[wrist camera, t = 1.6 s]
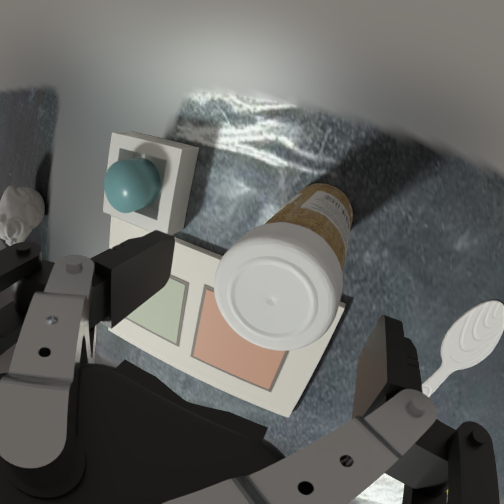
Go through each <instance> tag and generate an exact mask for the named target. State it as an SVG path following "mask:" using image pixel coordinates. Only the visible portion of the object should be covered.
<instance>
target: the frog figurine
mask: <svg viewBox="0 0 504 504" xmlns="http://www.w3.org/2000/svg"><path fill="white" fill-rule="evenodd" d="M44 212H45V204H44V200H43V198H42V196H41V195H40V193H39V192H37V191H36V190H34V189H32V188H25V187H19V188H17V189H15V188H14V187H13V186H11V185H10V186H9V187H7V188H6V190H5V192H4V194H3V196H2V198H1V202H0V238H1V239H4V240H6V243H7V244H8V245H9V246H11V245H13V244H16V243H19V242H24V240H25V239H26V238H27V237H28V235H29V233H30V232H31V231H32V229H33V228H35V227H36V226H37V225H38V224H39V223H40V222H41V220H42V219H43V216H44Z"/></svg>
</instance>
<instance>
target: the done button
mask: <svg viewBox="0 0 504 504" xmlns="http://www.w3.org/2000/svg"><path fill="white" fill-rule="evenodd" d="M160 187H161V181H160V176H159V172H158V170H157V168H156V167H155V166H154V164H153V163H152V162H151V161H149V160H147V159H145V158H134V159H127V160H121V161H117V162H115V163H113V164H112V165H111V166H110V167H109V169H108V170H107V172H106V175H105V180H104V188H105V194H106V197H107V199H108V201H109V203H110V204H111V206H112V207H113V208H114V209H116V210H117V211H119V212H122V213H130V212H133V211H136V210H138V209H141V208H144V207H147V206H149V205H151V204H152V203H154V202H155V200H156V199H157V197H158V195H159V192H160Z"/></svg>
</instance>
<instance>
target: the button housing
mask: <svg viewBox="0 0 504 504" xmlns="http://www.w3.org/2000/svg"><path fill="white" fill-rule="evenodd" d="M198 152H199V147H195V146H191V145H187V144H183V143H179V142H175V141H171V140H167V139H163V138H159V137H154V136H150V135H146V134H141V133H137V132H132V131H131V132H114V133H112V137H111V144H110V151H109V158H108V166H107V170H108V169H109V167H110V166H111V165H112V164H113V163H115V162H117V161H121V160H127V159H134V158H145V159H147V160H149V161H151V162H152V163H153V164H154V166H155V167H156V168H157V170H158V172H159V176H160V181H161V187H160V192H159V195H158V197H157V199H156V200H155V202H154V203H152V204H151V205H149V206H147V207H144V208H141V209H138V210H136V211H133V212H130V213H122V212H119V211H117V210H116V209H114V208H113V207H112V206H111V204H110V203H109V201H108V199H107V197H106V194H104V206H103V212H105V213H107V214H110V215H112V216H114V217H117V218H119V219H122V220H124V221H127V222H129V223H131V224H134V225H136V226H139V227H141V228H143V229H146V230H148V231H151V232H152V231H154V230H159V231H161V232H164V233H166V234H169V235H173V234H175V233H177V232H179V231H181V230H183V229H184V223H185V217H186V212H187V207H188V201H189V196H190V191H191V186H192V181H193V176H194V171H195V166H196V161H197V156H198Z"/></svg>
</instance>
